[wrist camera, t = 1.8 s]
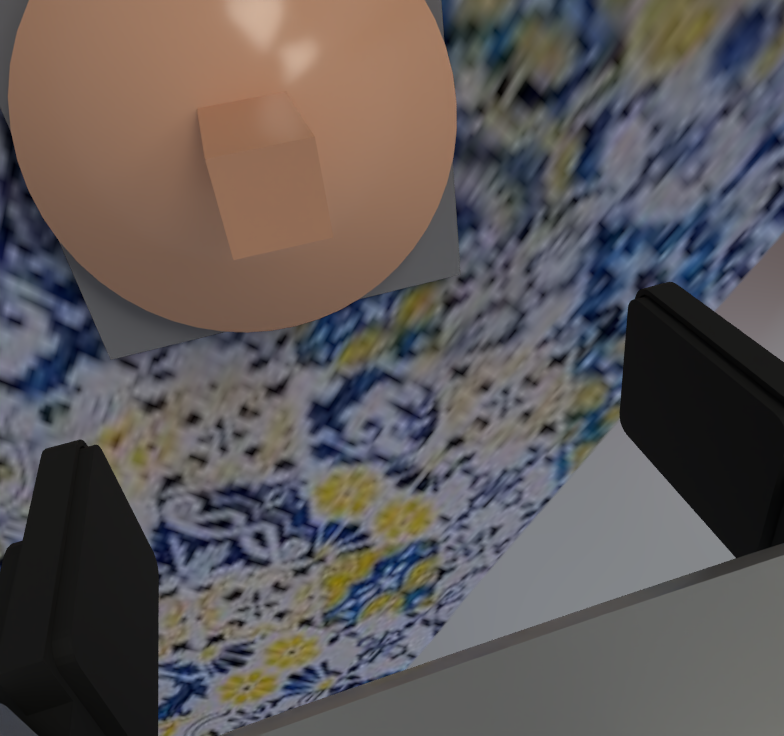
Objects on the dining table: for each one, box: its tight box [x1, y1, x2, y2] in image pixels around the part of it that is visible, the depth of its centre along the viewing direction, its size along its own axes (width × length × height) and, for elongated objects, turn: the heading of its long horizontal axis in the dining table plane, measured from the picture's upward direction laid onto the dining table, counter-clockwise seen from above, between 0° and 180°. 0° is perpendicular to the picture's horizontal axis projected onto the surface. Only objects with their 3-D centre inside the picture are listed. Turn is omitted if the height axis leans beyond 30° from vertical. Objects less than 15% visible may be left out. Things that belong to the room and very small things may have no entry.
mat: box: [0, 0, 461, 360], centre depth 27 cm, size 16×16×1 cm
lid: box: [8, 0, 457, 332], centre depth 24 cm, size 16×16×7 cm
